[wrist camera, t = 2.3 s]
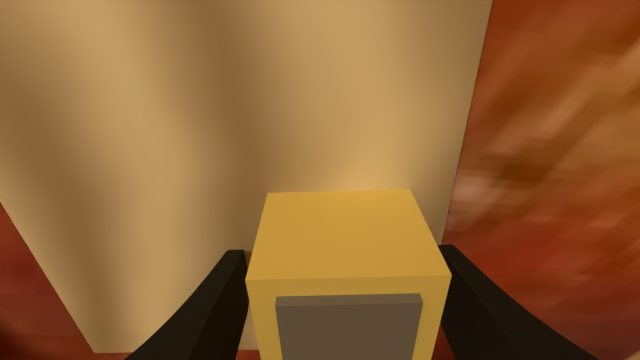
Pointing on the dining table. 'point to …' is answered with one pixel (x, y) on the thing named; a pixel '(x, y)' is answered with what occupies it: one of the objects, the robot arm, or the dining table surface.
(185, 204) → the plywood panel
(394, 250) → the block
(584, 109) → the dining table surface
